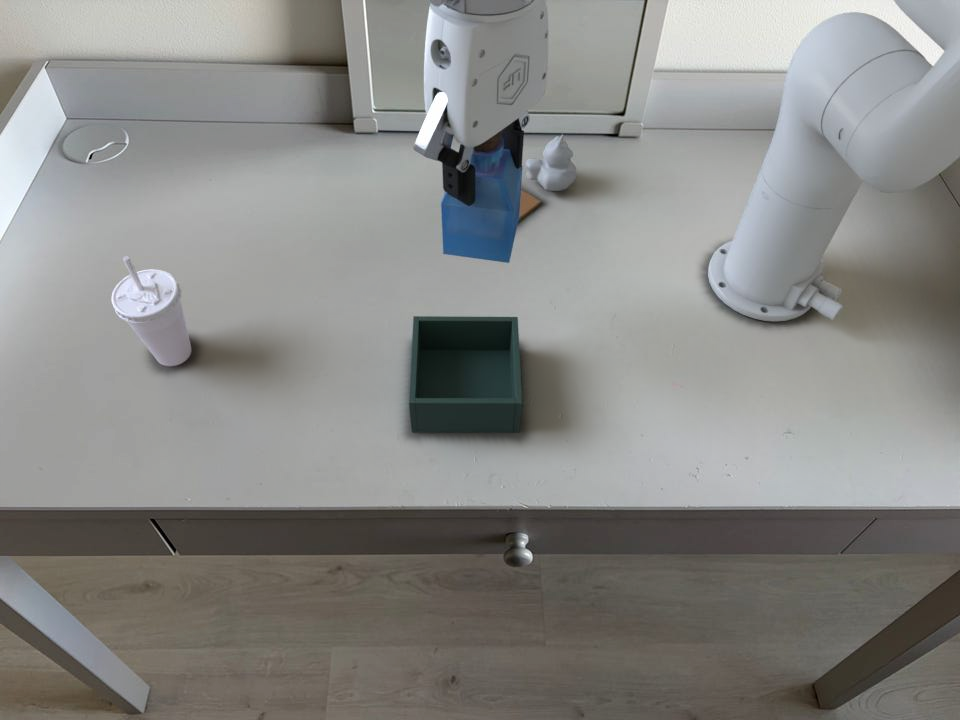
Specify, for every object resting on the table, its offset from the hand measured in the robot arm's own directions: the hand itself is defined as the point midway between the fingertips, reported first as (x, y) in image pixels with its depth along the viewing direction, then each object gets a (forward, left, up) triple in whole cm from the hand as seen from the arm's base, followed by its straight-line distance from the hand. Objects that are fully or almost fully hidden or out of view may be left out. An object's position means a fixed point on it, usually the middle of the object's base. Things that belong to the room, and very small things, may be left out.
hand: (483, 177), depth 68 cm
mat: (+12, -18, -22) cm, 31 cm away
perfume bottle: (0, 0, -7) cm, 7 cm away
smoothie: (+22, +24, -22) cm, 40 cm away
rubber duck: (+10, -25, -22) cm, 35 cm away
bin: (-4, +6, -22) cm, 23 cm away
